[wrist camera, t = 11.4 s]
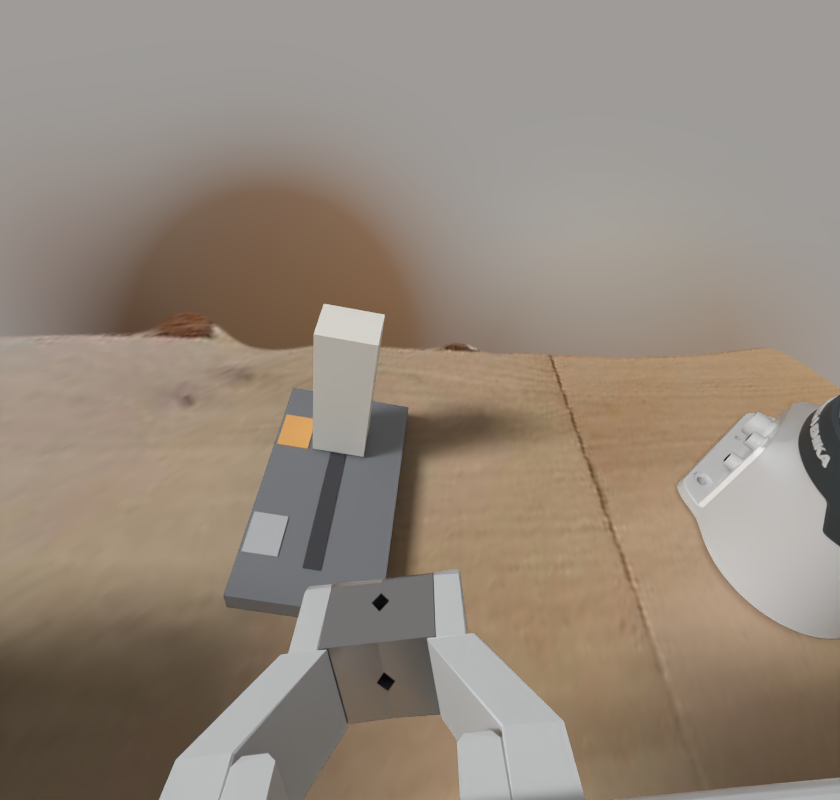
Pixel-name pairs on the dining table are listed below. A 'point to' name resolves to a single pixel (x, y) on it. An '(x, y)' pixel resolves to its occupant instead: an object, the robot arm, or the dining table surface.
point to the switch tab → (344, 377)
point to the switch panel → (318, 512)
